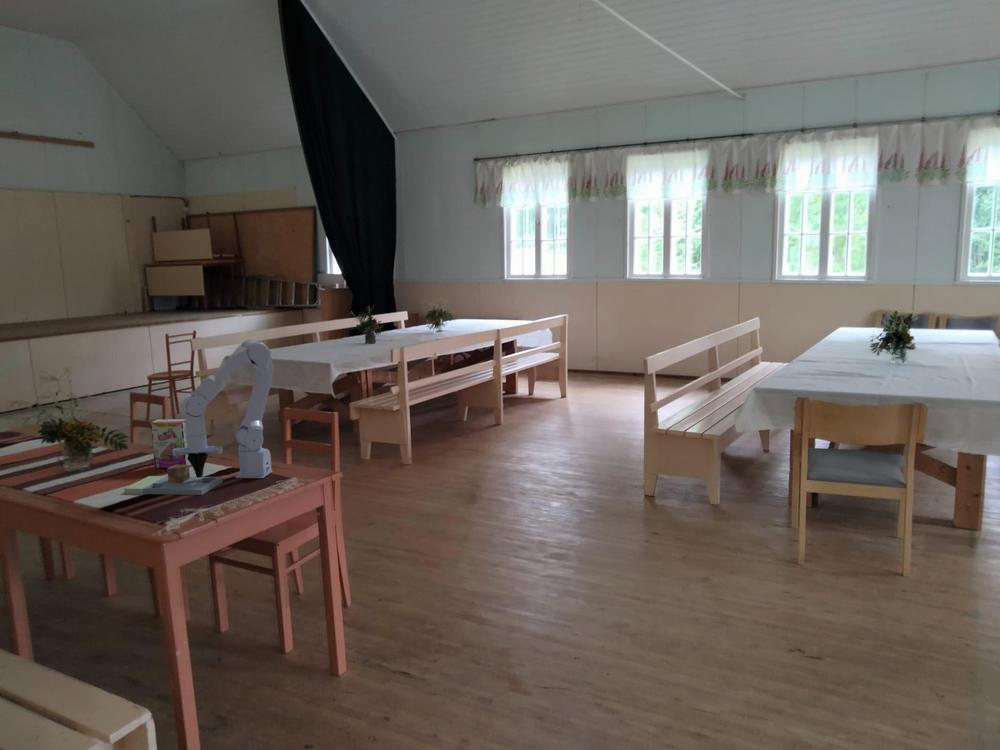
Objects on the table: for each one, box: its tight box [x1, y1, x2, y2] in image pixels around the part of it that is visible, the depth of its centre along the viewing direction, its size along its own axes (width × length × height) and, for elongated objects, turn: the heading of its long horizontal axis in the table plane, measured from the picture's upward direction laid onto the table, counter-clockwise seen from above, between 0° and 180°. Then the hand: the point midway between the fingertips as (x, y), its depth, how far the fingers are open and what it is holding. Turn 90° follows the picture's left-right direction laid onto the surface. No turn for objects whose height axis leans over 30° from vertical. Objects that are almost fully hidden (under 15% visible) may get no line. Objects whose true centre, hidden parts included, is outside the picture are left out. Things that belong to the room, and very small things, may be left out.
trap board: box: [123, 475, 224, 496], centre depth 231 cm, size 25×13×2 cm, turn 83°
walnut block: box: [167, 465, 191, 483], centre depth 233 cm, size 4×4×4 cm
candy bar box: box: [150, 418, 192, 470], centre depth 254 cm, size 11×5×16 cm, turn 89°
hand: (199, 476), depth 234 cm, fingers closed
